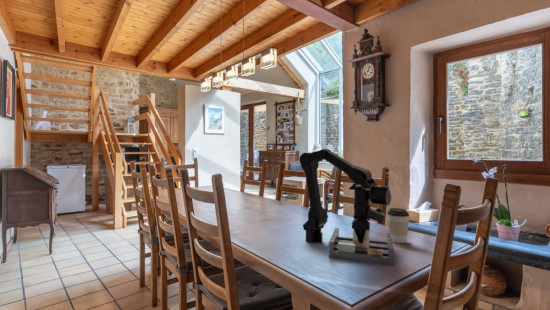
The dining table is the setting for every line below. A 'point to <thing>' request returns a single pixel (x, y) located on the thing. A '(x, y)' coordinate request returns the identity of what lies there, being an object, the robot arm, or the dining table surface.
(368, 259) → the rack
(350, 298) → the dining table surface
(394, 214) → the coffee cup
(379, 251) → the offcut
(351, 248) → the offcut
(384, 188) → the robot arm
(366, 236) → the birch panel
